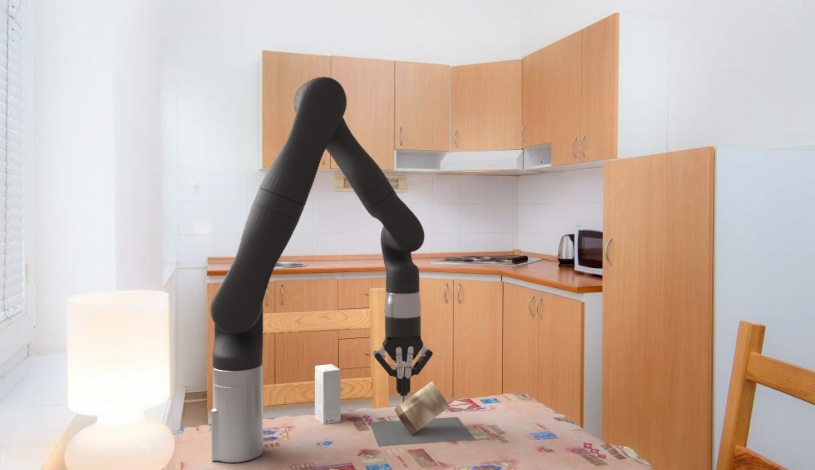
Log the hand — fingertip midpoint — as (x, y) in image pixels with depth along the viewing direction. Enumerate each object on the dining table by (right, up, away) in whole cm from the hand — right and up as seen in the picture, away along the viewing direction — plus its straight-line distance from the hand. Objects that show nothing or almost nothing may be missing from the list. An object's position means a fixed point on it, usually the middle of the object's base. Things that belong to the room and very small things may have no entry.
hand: (403, 394), depth 129 cm
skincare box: (-17, -8, +8) cm, 21 cm away
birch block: (0, -6, 0) cm, 6 cm away
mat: (+4, -8, +1) cm, 9 cm away
